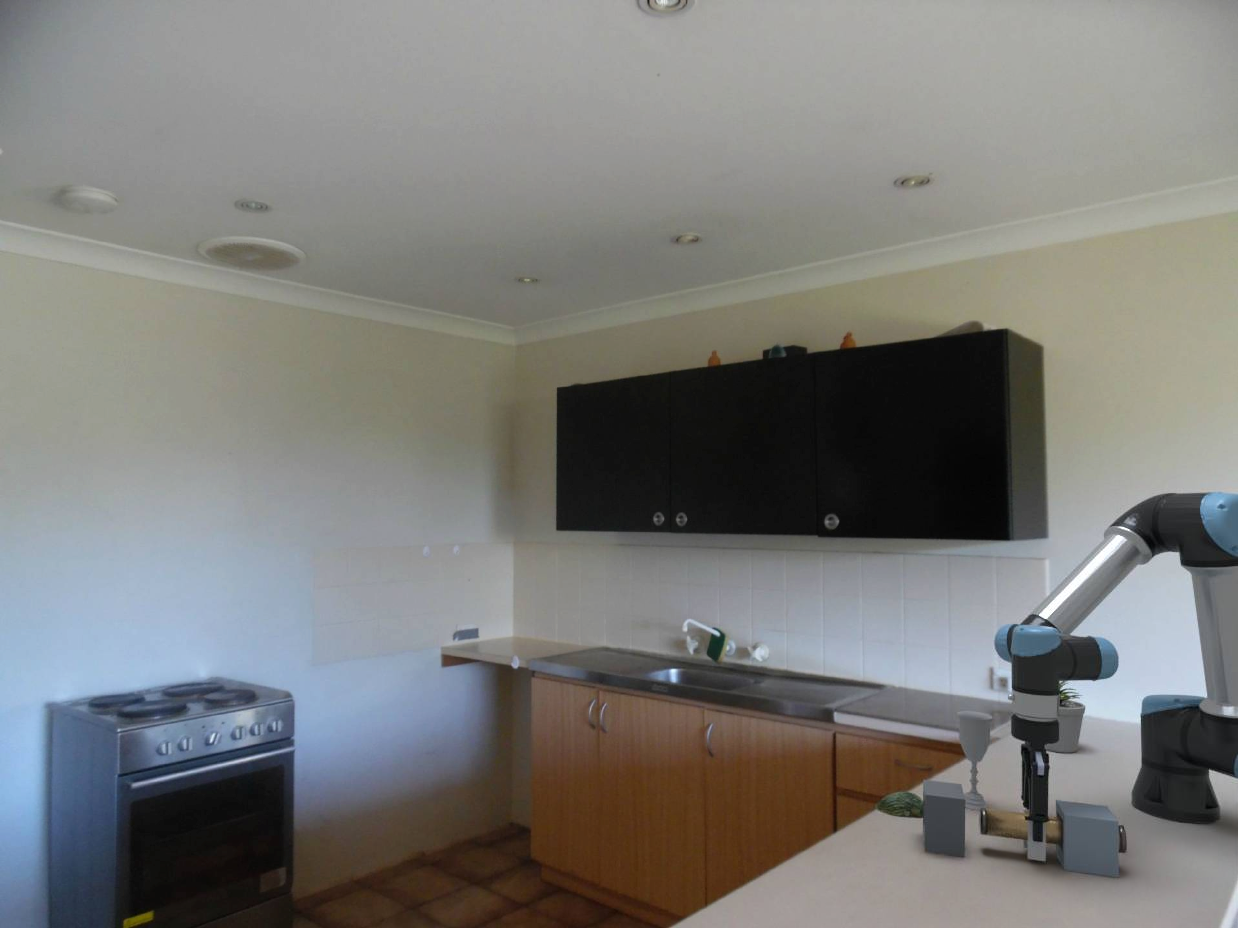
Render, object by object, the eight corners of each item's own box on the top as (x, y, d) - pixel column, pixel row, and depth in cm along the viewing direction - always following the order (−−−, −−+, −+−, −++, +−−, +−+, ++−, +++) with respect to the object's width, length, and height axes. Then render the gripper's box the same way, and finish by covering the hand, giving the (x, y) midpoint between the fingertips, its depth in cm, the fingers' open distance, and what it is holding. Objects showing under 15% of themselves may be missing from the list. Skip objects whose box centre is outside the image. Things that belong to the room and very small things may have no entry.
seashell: (901, 779, 178) (940, 794, 169) (902, 799, 178) (940, 815, 169) (864, 788, 173) (902, 805, 164) (865, 809, 173) (903, 826, 164)
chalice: (995, 813, 170) (996, 720, 171) (959, 809, 172) (960, 718, 173) (987, 801, 178) (988, 712, 179) (952, 797, 179) (953, 709, 180)
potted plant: (1030, 738, 230) (1030, 662, 231) (1088, 748, 222) (1088, 669, 223) (1020, 748, 220) (1020, 668, 221) (1081, 758, 212) (1081, 676, 213)
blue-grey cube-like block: (1106, 859, 149) (1107, 805, 149) (1118, 877, 141) (1118, 821, 142) (1055, 852, 151) (1055, 799, 152) (1064, 869, 144) (1064, 814, 144)
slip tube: (1120, 847, 147) (1120, 821, 147) (1126, 857, 143) (1126, 830, 143) (979, 829, 154) (979, 804, 154) (981, 837, 149) (981, 812, 150)
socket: (960, 838, 156) (961, 783, 157) (964, 857, 148) (965, 799, 148) (922, 833, 158) (923, 779, 159) (924, 851, 150) (925, 794, 150)
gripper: (1005, 703, 159) (1004, 832, 158) (1018, 725, 143) (1017, 869, 142) (1049, 707, 157) (1049, 838, 156) (1068, 730, 140) (1068, 877, 139)
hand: (1034, 853), depth 149 cm, fingers closed on slip tube, 4 cm apart
